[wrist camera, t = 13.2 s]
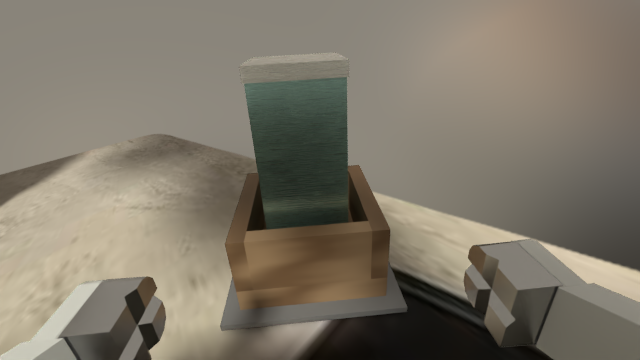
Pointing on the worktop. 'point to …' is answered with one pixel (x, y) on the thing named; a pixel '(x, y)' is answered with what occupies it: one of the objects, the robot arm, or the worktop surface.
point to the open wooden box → (308, 252)
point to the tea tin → (300, 136)
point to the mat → (312, 309)
